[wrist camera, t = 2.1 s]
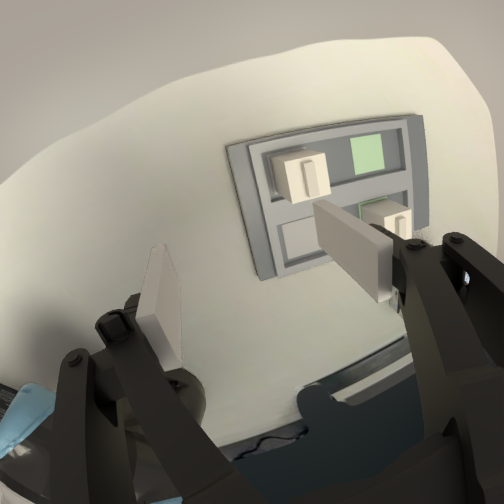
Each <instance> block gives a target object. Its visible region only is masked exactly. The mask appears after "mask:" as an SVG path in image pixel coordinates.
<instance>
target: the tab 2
mask: <svg viewBox="0 0 504 504" xmlns="http://www.w3.org/2000/svg"><path fill="white" fill-rule="evenodd" d="M361 211H362V221H363V222H365V223H367V224H371V223H373V224H377V225H381V226H382V227H384V228H386V229H387V230H389V231H391V232H392V233H394V234H396V235H397V236H399V237H401V238H402V239H404V240H407V239H412V217H411V209H410V208H408V207H405V206H403V205H401V204H399V203H396V202H394V201H392V200H390V199H387V198H386V199H383V200H379V201H375V202H372V203H368V204H364V205H361Z"/></svg>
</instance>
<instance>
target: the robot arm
mask: <svg viewBox="0 0 504 504" xmlns="http://www.w3.org/2000/svg"><path fill="white" fill-rule="evenodd" d="M312 205H313V211H314V218H315V224H316V231H317V238H318V245H319V246H320V247H321V248H322V249H323V250H324V251H325V252H326V253H327V254H328V255H329V256H330V257H331V258H332V259H333V260H334V261H335V262H336V263H337V264H338V265H339V266H341V267H342V268H343V269H344V270H345V271H346V272H347V273H348V274H349V275H350V276H351V277H352V278H353V279H354V280H355V281H356V282H357V283H358V284H359V285H360V286H361V287H362V288H363V289H364V290H365V291H366V292H367V293H368V294H369V295H370V296H371V297H372V298H373V299H374V300H375V301H376V302H377V303H380V302H382V301H385V300H387V299H389V298H392V290H393V286H394V287H395V288H396V289H398V305H397V313H399V312H400V309H401V312H402V316H403V319H404V323H405V327H406V331H407V335H408V339H409V344H410V348H411V352H412V357H413V362H414V366H415V371H416V376H417V382H418V387H419V392H420V398H421V405H422V411H423V418H424V425H425V436H424V440H423V441H421V442H420V443H418V444H416V445H414V446H413V447H411V448H409V449H408V450H407V451H405V452H404V453H403V454H402V455H401V456H400V457H399V458H397V459H396V460H395V461H394V462H393V463H392V464H390V465H389V466H388V467H387V468H386V469H385V470H383V471H382V472H381V473H379V474H378V475H377V476H375V477H372V478H368V479H363V480H359V481H354V482H349V483H343V484H337V485H331V486H328V487H325V488H322V489H320V490H316V491H314V492H311V493H307V494H305V495H302V496H298V497H295V498H292V499H290V502H291V504H504V264H503V263H502V262H500V261H499V260H498V259H497V258H495V257H494V256H493V255H492V254H490V253H489V252H488V251H486V250H485V249H484V248H483V247H481V246H480V245H479V244H477V243H476V242H474V241H473V240H472V239H470V238H469V237H468V236H466V235H464V234H461V233H459V232H456V233H455V232H452V233H447V234H445V235H444V236H443V241H442V245H439V246H432V247H430V246H429V244H428V243H427V242H426V241H423V240H420V239H407V240H404V239H402V238H401V237H399V236H397V235H396V234H394V233H392V232H391V231H389V230H387V229H386V228H384V227H382V226H381V225H377V224H373V223H371V224H367V223H365V222H363V221H362V220H360V219H358V218H357V217H355V216H353V215H352V214H350V213H348V212H346V211H345V210H343V209H341V208H340V207H338V206H336V205H334V204H333V203H331V202H329V201H327V200H325V199H322V200H318V201H314V202H312ZM466 273H467V274H468V276H469V283H467V282H466V281H465V275H466ZM95 329H96V331H97V332H98V334H99V336H100V337H101V339H102V340H103V342H104V344H105V345H106V348H105V349H104V350H102V351H100V352H98V353H95V354H93V355H90V354H89V352H88V351H87V350H86V349H82V348H80V349H76V350H74V351H71V352H70V353H68V354H67V355H66V357H65V358H64V359H63V361H62V363H61V367H60V373H59V379H58V385H57V392H56V394H55V393H53V392H51V391H49V390H47V389H46V388H44V387H42V386H40V385H38V384H36V383H27V384H25V385H24V386H22V387H21V389H20V390H19V392H18V393H17V395H16V396H15V398H14V399H13V401H12V403H11V404H10V406H9V408H8V409H7V411H6V413H5V415H4V417H3V418H2V420H1V422H0V488H1V490H2V493H3V496H2V501H1V504H269V503H268V502H267V501H266V500H265V499H264V498H263V497H262V496H261V495H260V494H259V493H258V492H257V491H256V490H255V489H254V487H252V485H251V484H250V483H249V482H248V481H247V480H246V479H245V478H244V477H243V476H242V475H241V474H240V473H239V472H238V470H236V469H235V468H234V467H233V466H232V464H231V463H230V462H229V461H228V460H227V459H226V458H225V456H224V455H223V454H222V453H221V452H220V450H219V449H218V448H217V447H216V446H215V444H214V443H213V442H212V441H211V439H210V438H209V437H208V436H207V434H206V433H205V432H204V431H203V429H202V428H201V427H200V426H201V422H202V419H203V416H204V412H205V409H206V399H205V392H204V388H203V386H202V384H201V383H200V382H199V380H198V379H197V378H196V377H194V376H193V375H192V374H190V373H189V372H187V371H185V370H183V369H181V368H182V341H181V285H180V282H179V280H178V277H177V274H176V272H175V269H174V266H173V264H172V261H171V258H170V256H169V253H168V250H167V247H166V245H165V244H163V245H160V246H157V247H153V248H152V251H151V254H150V258H149V262H148V266H147V270H146V274H145V278H144V282H143V286H142V291H141V293H138V294H134V295H131V296H130V298H129V299H128V300H127V301H126V303H125V306H124V310H122V309H116V310H112V311H110V312H107V313H106V314H104V315H103V316H101V317H100V318H99V319H98V321H97V322H96V324H95ZM482 346H483V347H482ZM483 348H484V349H485V350H486V352H487V353H488V354H489V356H490V357H491V359H492V360H493V361H494V363H495V364H496V366H497V367H495V368H492V367H491V366H490V364H489V361H488V359H487V357H486V354H485V352H484V349H483Z"/></svg>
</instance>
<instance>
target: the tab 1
mask: <svg viewBox="0 0 504 504" xmlns="http://www.w3.org/2000/svg"><path fill="white" fill-rule="evenodd" d="M270 161H271V165H272V170H273V175H274V179H275V184H276V189H277V193H278V194H280V195H281V196H282V197H284V198H285V199H286V200H288V201H289V202H290V203H292V204H295V203H298V202H302V201H306V200H310V199H314V198H317V197H321V196H325V195H329V194H331V189H330V182H329V176H328V170H327V163H326V157H325V153H322V152H317V151H312V150H308V149H303V150H298V151H293V152H289V153H284V154H280V155H275V156H271V157H270Z"/></svg>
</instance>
